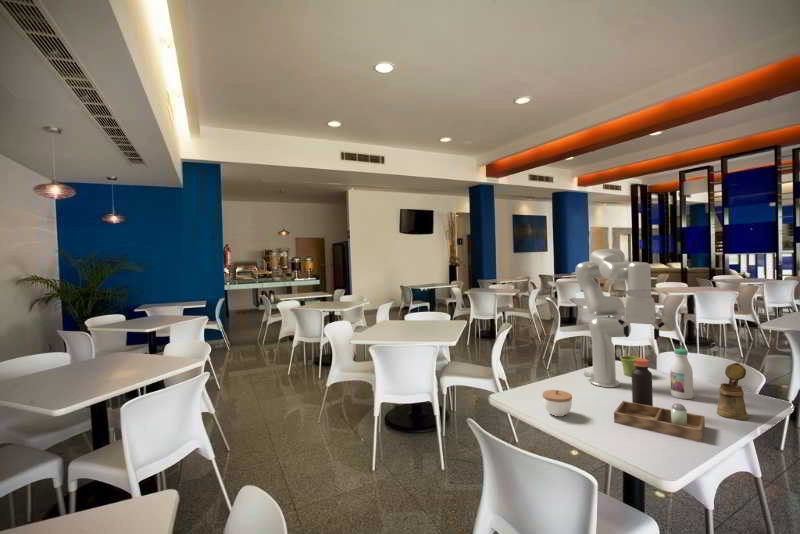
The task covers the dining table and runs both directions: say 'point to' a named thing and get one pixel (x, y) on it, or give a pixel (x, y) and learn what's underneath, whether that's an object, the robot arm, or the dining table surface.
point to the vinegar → (642, 383)
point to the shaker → (678, 414)
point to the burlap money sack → (732, 394)
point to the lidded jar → (557, 402)
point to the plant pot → (628, 364)
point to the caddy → (659, 420)
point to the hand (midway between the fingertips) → (641, 337)
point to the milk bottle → (681, 375)
